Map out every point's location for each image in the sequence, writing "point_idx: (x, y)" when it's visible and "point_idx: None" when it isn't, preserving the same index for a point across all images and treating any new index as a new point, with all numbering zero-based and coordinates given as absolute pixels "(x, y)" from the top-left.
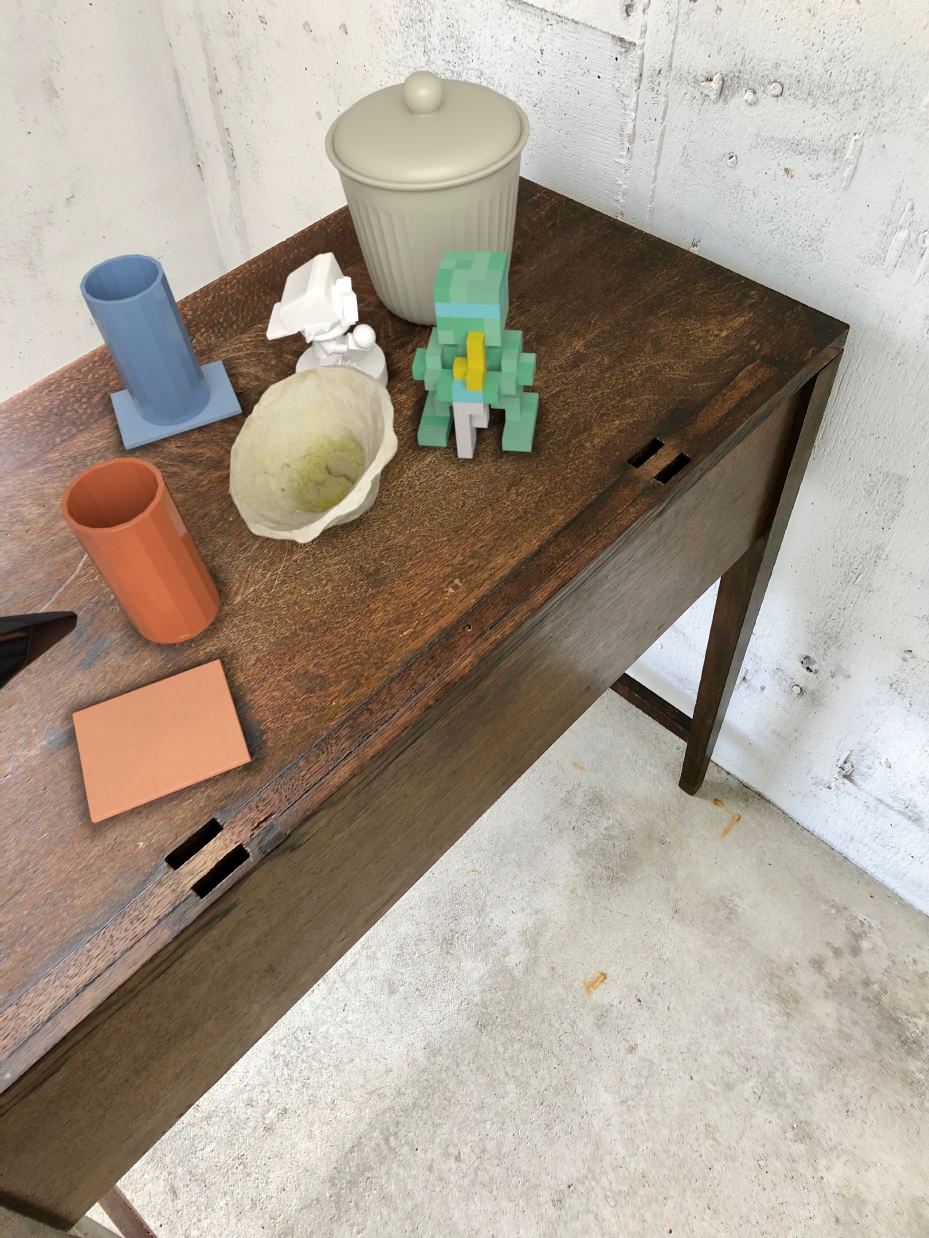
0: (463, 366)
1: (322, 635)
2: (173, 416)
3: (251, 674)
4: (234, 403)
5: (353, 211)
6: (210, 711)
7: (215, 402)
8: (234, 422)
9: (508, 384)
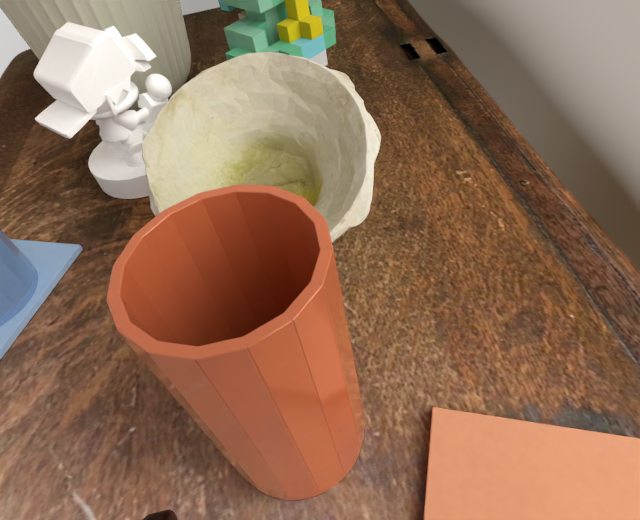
0: (293, 22)
1: (458, 291)
2: (14, 298)
3: (475, 383)
4: (66, 247)
5: (38, 11)
6: (526, 456)
7: (43, 261)
8: (86, 260)
9: (329, 24)
